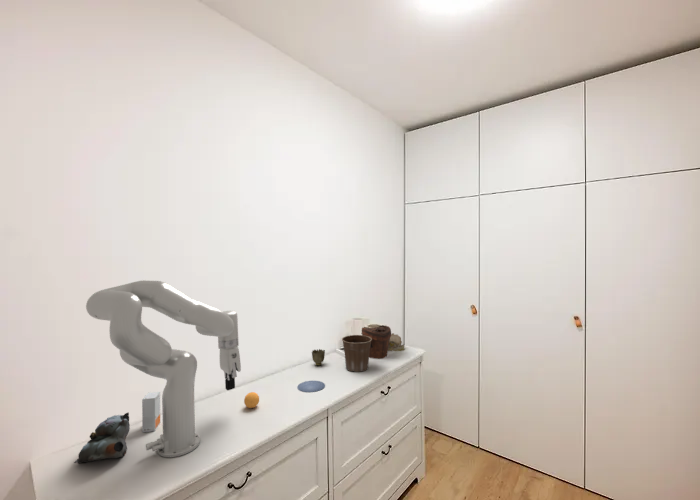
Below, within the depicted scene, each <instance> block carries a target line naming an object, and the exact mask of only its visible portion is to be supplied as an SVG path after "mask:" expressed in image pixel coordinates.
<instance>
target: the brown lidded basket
mask: <svg viewBox="0 0 700 500" xmlns="http://www.w3.org/2000/svg"><path fill="white" fill-rule="evenodd" d="M391 330H392V329H391V327H390V326H387V325H385V324H384V325H383V324H382V325H380V326H376V327H370V328H369V327H362V328H361V334H360V335H364V336H368V337H370V338H372V341H371V346H370V351H369V359H384V358H386V357H387V356H388V346H389V341H390V337H391V335H392V331H391Z"/></svg>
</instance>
